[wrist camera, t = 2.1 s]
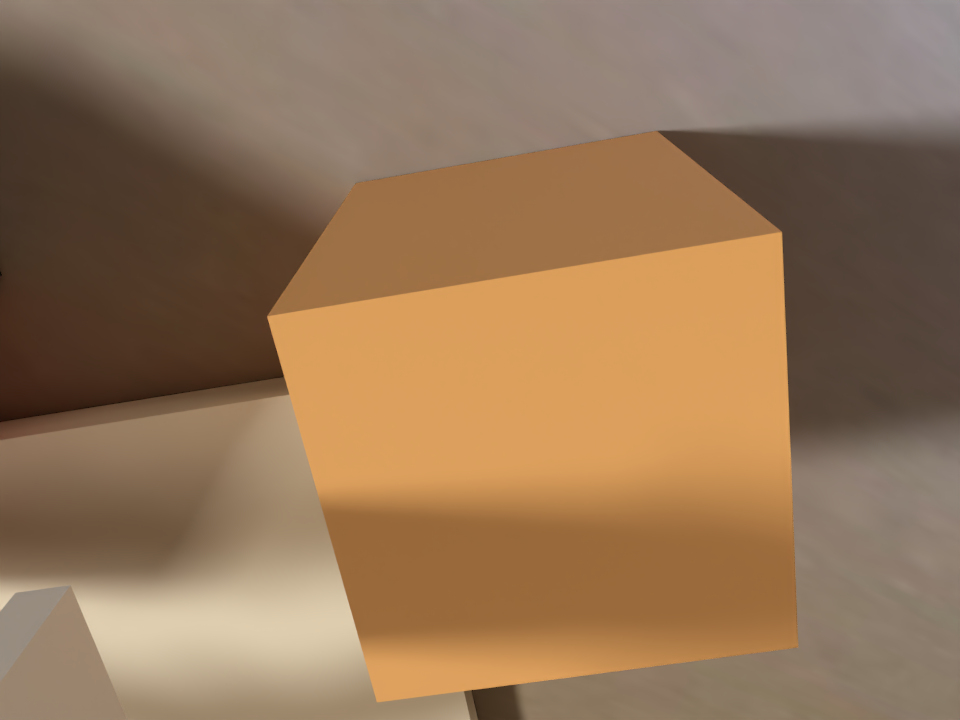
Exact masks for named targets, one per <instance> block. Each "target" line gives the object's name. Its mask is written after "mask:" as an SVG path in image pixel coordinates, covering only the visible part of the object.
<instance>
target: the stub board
mask: <svg viewBox="0 0 960 720" xmlns="http://www.w3.org/2000/svg"><path fill="white" fill-rule="evenodd" d="M68 585H71V587H72V590H73V592H74V594H75V597H76V599H77V601H78V604H79V606H80V609H81V611H82V613H83V616H84V618H85V620H86V623H87V625H88V628H89V630H90V632H91V635H92V637H93V639H94V642H95V644H96V647H97V649H98V651H99V654H100V656H101V658H102V661H103V663H104V666H105V668H106V670H107V673H108V675H109V678H110V680H111V682H112V685H113V687H114V689H115V692H116V694H117V697H118V699H119V701H120V704H121V706H122V708H123V711H124V713H125V716H126V718H127V720H478V717H477V713H476V709H475V704H474V700H473V696H472V691H471V690H469V691H461V692H454V693H446V694H438V695H431V696H423V697H415V698H408V699H400V700H392V701H385V702H377V701H376V697H375V694H374V690H373V687H372V683H371V680H370V676H369V673H368V669H367V666H366V662H365V659H364V655H363V651H362V648H361V644H360V641H359V637H358V634H357V630H356V627H355V623H354V620H353V616H352V613H351V609H350V606H349V602H348V599H347V595H346V592H345V588H344V585H343V581H342V578H341V574H340V571H339V567H338V564H337V560H336V557H335V553H334V550H333V546H332V543H331V539H330V536H329V532H328V528H327V525H326V521H325V518H324V514H323V511H322V507H321V504H320V500H319V497H318V493H317V490H316V486H315V483H314V479H313V476H312V472H311V469H310V465H309V462H308V458H307V455H306V451H305V448H304V444H303V441H302V437H301V434H300V430H299V427H298V423H297V420H296V416H295V413H294V409H293V406H292V402H291V398H290V395H289V391H288V388H287V384H286V381H285V377H281V378H275V379H268V380H262V381H256V382H250V383H243V384H237V385H231V386H224V387H218V388H212V389H205V390H199V391H193V392H187V393H180V394H174V395H168V396H161V397H155V398H149V399H142V400H136V401H130V402H124V403H117V404H111V405H105V406H98V407H92V408H86V409H79V410H73V411H67V412H61V413H54V414H48V415H42V416H35V417H29V418H23V419H16V420H10V421H4V422H0V611H1V610H2V609H3V607H4V606H5V605H6V604H7V603H8V601H9V600H10V599H11V598H12V596H13V595H14V594H15V593H18V592H25V591H32V590H39V589H46V588H53V587H61V586H68Z"/></svg>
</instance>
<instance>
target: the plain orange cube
mask: <svg viewBox="0 0 960 720" xmlns="http://www.w3.org/2000/svg"><path fill="white" fill-rule="evenodd" d="M267 318H268V321H269V325H270V328H271V332H272V335H273V339H274V342H275V346H276V349H277V353H278V356H279V360H280V363H281V367H282V370H283V374H284V377H285V381H286V384H287V388H288V391H289V395H290V398H291V402H292V406H293V409H294V413H295V416H296V420H297V423H298V427H299V430H300V434H301V437H302V441H303V444H304V448H305V451H306V455H307V458H308V462H309V465H310V469H311V472H312V476H313V479H314V483H315V486H316V490H317V493H318V497H319V500H320V504H321V507H322V511H323V514H324V518H325V521H326V525H327V528H328V532H329V536H330V539H331V543H332V546H333V550H334V553H335V557H336V560H337V564H338V567H339V571H340V574H341V578H342V581H343V585H344V588H345V592H346V595H347V599H348V602H349V606H350V609H351V613H352V616H353V620H354V623H355V627H356V630H357V634H358V637H359V641H360V644H361V648H362V651H363V655H364V659H365V662H366V666H367V669H368V673H369V676H370V680H371V683H372V687H373V690H374V694H375V697H376V701H377V702H385V701H392V700H400V699H408V698H415V697H423V696H431V695H438V694H446V693H454V692H461V691H469V690H476V689H484V688H492V687H499V686H507V685H515V684H522V683H530V682H538V681H545V680H553V679H560V678H568V677H576V676H583V675H591V674H599V673H606V672H614V671H622V670H629V669H637V668H644V667H652V666H660V665H667V664H675V663H683V662H690V661H698V660H706V659H713V658H721V657H728V656H736V655H744V654H751V653H759V652H767V651H774V650H782V649H790V648H797V647H798V631H797V605H796V579H795V553H794V528H793V502H792V476H791V451H790V425H789V399H788V373H787V348H786V322H785V296H784V270H783V245H782V231H780V230H779V229H778V228H777V227H775V226H774V225H773V224H772V223H770V222H769V221H768V220H767V219H765V218H764V217H763V216H762V215H760V214H759V213H758V212H757V211H756V210H754V209H753V208H752V207H751V206H749V205H748V204H747V203H746V202H744V201H743V200H742V199H741V198H739V197H738V196H737V195H736V194H734V193H733V192H732V191H731V190H729V189H728V188H727V187H726V186H724V185H723V184H722V183H721V182H720V181H718V180H717V179H716V178H715V177H713V176H712V175H711V174H710V173H708V172H707V171H706V170H705V169H703V168H702V167H701V166H700V165H698V164H697V163H696V162H695V161H693V160H692V159H691V158H690V157H689V156H687V155H686V154H685V153H684V152H682V151H681V150H680V149H679V148H677V147H676V146H675V145H674V144H672V143H671V142H670V141H669V140H667V139H666V138H665V137H664V136H662V135H661V134H660V133H659V132H658V131H654V132H648V133H642V134H637V135H631V136H625V137H619V138H614V139H608V140H602V141H596V142H590V143H585V144H579V145H573V146H567V147H562V148H556V149H550V150H544V151H539V152H533V153H527V154H521V155H516V156H510V157H504V158H498V159H493V160H487V161H481V162H475V163H470V164H464V165H458V166H452V167H447V168H441V169H435V170H429V171H424V172H418V173H412V174H406V175H401V176H395V177H389V178H383V179H378V180H372V181H366V182H360V183H356V184H355V185H354V187H353V188H352V190H351V191H350V193H349V194H348V196H347V197H346V199H345V200H344V202H343V203H342V205H341V206H340V208H339V209H338V211H337V212H336V214H335V215H334V217H333V218H332V220H331V221H330V223H329V224H328V226H327V227H326V229H325V230H324V232H323V233H322V235H321V236H320V238H319V239H318V241H317V242H316V244H315V245H314V247H313V248H312V250H311V251H310V253H309V254H308V256H307V257H306V259H305V260H304V262H303V263H302V265H301V266H300V268H299V269H298V271H297V272H296V274H295V275H294V277H293V278H292V280H291V281H290V283H289V284H288V286H287V287H286V289H285V290H284V292H283V293H282V295H281V296H280V298H279V299H278V301H277V302H276V304H275V305H274V307H273V308H272V310H271V311H270V313H269V314H268V316H267Z"/></svg>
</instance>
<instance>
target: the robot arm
mask: <svg viewBox="0 0 960 720" xmlns="http://www.w3.org/2000/svg"><path fill="white" fill-rule="evenodd" d="M0 720H127V718H126V716H125V713H124V711H123V708H122V706H121V704H120V701H119V699H118V697H117V694H116V692H115V689H114V687H113V685H112V682H111V680H110V678H109V675H108V673H107V670H106V668H105V666H104V663H103V661H102V658H101V656H100V654H99V651H98V649H97V647H96V644H95V642H94V639H93V637H92V635H91V632H90V630H89V628H88V625H87V623H86V620H85V618H84V616H83V613H82V611H81V609H80V606H79V604H78V601H77V599H76V597H75V594H74V592H73V590H72V587H71V585H68V586H61V587H53V588H46V589H39V590H32V591H25V592H18V593H15V594H14V595H13V596H12V598H11V599H10V600H9V601H8V603H7V604H6V605H5V606H4V607H3V609H2V610H1V611H0Z"/></svg>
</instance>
